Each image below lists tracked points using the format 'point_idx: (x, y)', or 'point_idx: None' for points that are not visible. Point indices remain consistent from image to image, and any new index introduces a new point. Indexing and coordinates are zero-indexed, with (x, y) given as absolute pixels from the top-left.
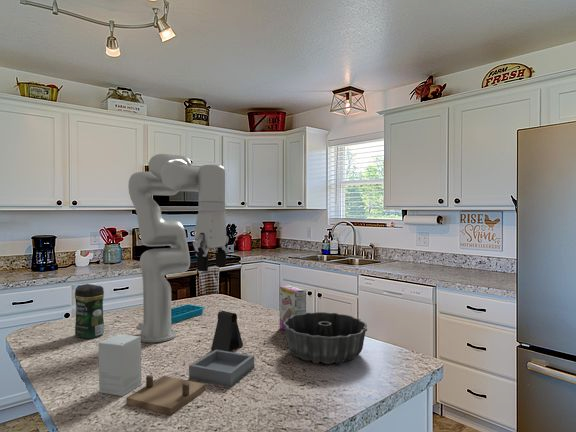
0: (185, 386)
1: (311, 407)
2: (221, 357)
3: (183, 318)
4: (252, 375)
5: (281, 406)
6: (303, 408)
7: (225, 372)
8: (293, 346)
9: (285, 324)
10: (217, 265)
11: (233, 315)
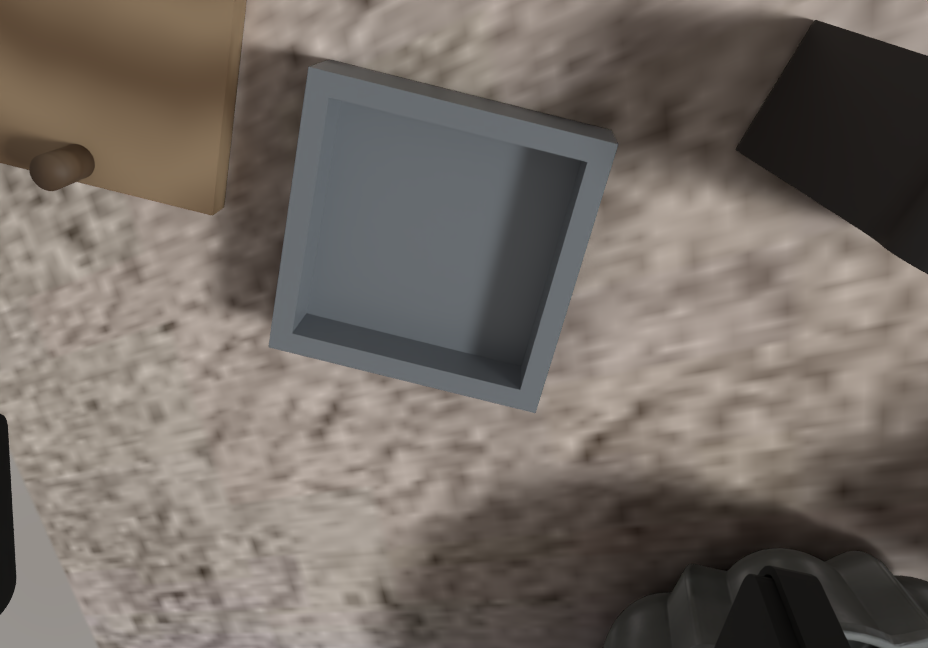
0: (34, 177)
1: (214, 632)
2: (575, 188)
3: None
4: None
5: (188, 542)
6: (198, 609)
7: (273, 316)
8: (672, 604)
9: None
10: (738, 606)
11: None
